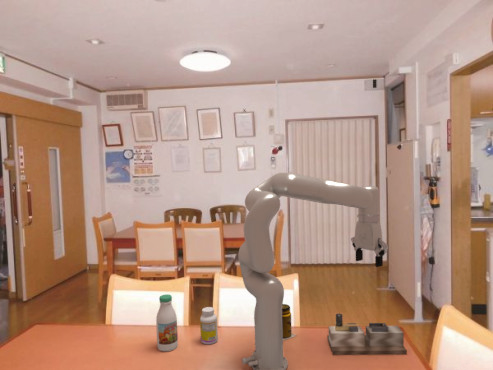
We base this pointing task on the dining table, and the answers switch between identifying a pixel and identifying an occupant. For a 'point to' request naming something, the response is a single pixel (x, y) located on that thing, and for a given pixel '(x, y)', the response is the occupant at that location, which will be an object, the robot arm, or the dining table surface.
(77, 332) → the dining table surface
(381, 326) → the lock hardware
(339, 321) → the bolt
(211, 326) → the supplement bottle
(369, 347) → the grey brown double block
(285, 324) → the condiment
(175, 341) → the milk bottle
